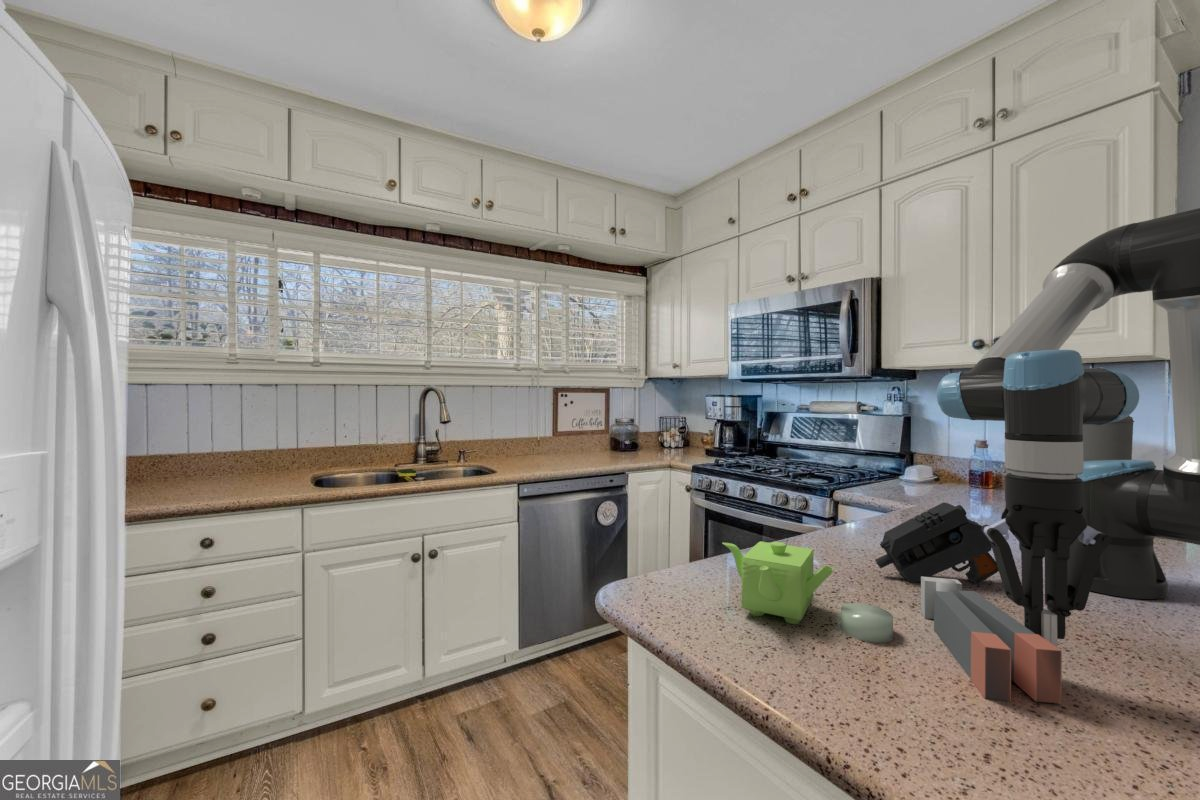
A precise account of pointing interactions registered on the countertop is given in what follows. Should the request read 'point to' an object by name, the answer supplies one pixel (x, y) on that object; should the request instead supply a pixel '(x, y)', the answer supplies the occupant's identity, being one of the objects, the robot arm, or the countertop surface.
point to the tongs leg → (1021, 650)
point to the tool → (938, 545)
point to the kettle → (778, 579)
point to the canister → (1108, 441)
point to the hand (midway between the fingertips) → (1044, 662)
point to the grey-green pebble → (867, 622)
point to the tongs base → (967, 638)
